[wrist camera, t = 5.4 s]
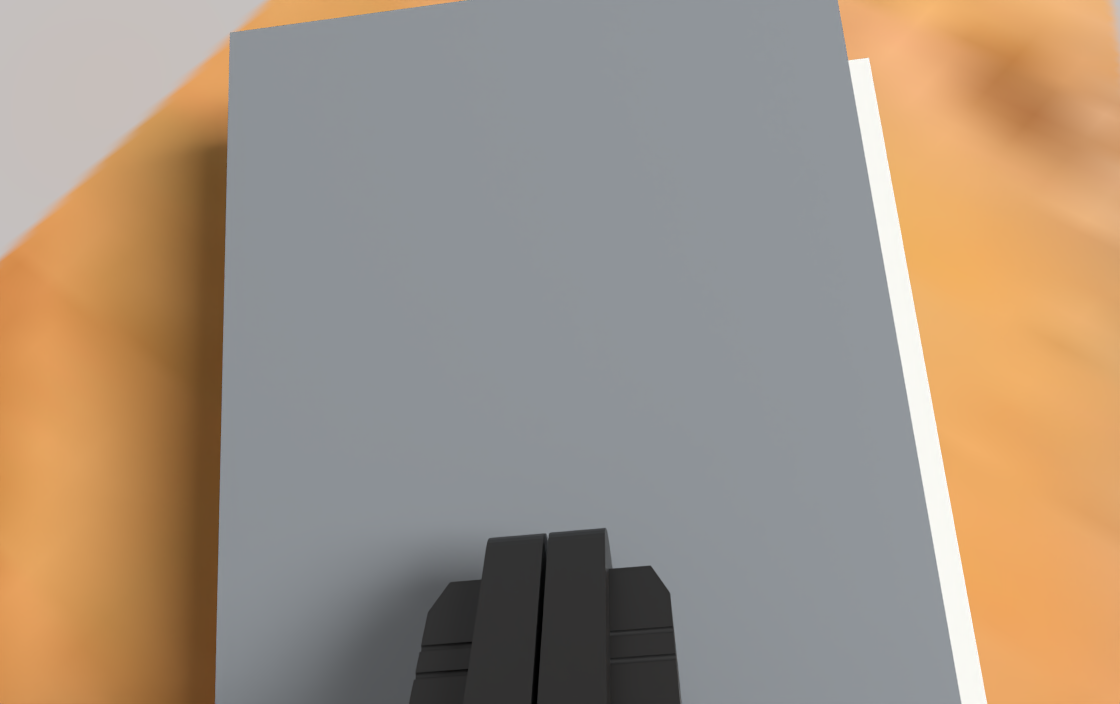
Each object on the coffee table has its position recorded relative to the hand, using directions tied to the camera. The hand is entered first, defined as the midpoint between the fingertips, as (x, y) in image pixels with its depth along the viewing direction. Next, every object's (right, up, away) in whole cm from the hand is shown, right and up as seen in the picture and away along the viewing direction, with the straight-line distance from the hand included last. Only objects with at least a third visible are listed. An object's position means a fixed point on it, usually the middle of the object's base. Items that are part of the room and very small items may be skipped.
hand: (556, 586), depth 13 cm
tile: (0, -3, +2) cm, 3 cm away
